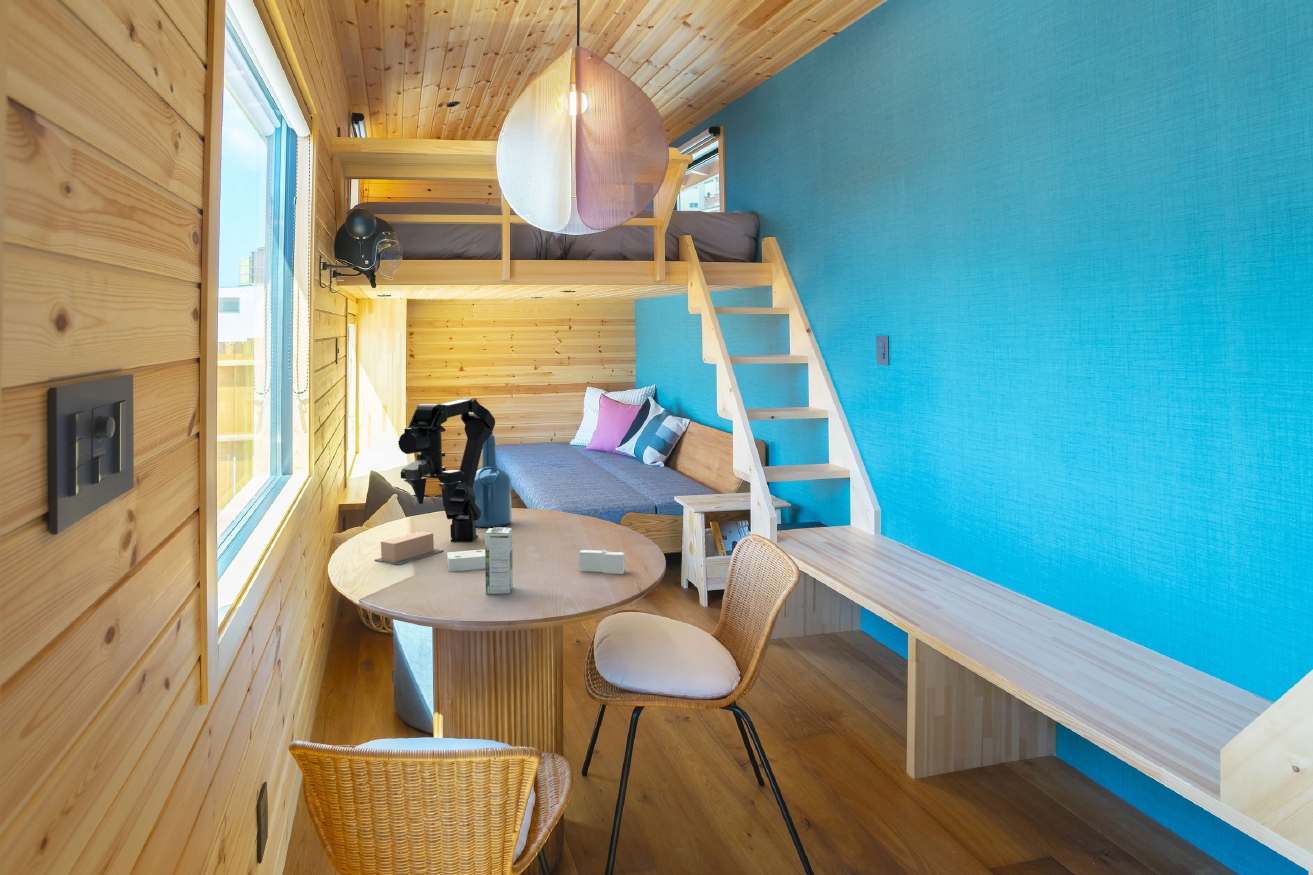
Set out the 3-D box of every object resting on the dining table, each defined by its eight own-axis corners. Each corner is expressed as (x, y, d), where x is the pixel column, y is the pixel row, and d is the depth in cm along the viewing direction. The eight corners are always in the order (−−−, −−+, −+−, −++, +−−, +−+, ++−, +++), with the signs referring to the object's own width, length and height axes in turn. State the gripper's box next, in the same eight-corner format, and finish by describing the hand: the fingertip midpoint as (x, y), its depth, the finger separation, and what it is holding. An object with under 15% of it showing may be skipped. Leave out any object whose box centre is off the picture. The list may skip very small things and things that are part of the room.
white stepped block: (567, 572, 208) (566, 550, 207) (601, 563, 216) (601, 542, 215) (604, 584, 197) (604, 561, 197) (639, 575, 205) (639, 552, 204)
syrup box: (488, 587, 193) (486, 527, 192) (513, 586, 194) (512, 526, 192) (485, 594, 188) (483, 532, 186) (511, 593, 188) (509, 532, 187)
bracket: (497, 561, 218) (496, 533, 217) (500, 568, 211) (500, 539, 210) (447, 565, 214) (446, 537, 213) (449, 572, 207) (448, 543, 206)
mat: (419, 547, 232) (419, 546, 232) (443, 551, 227) (443, 550, 227) (374, 560, 218) (374, 559, 218) (398, 565, 213) (398, 563, 213)
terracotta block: (420, 531, 229) (380, 541, 217) (433, 533, 226) (394, 543, 214) (420, 548, 229) (381, 560, 217) (433, 550, 227) (394, 562, 215)
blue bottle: (472, 520, 268) (469, 429, 264) (513, 519, 269) (510, 428, 266) (467, 529, 254) (464, 433, 251) (510, 528, 256) (507, 433, 252)
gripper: (384, 450, 222) (386, 507, 224) (434, 455, 213) (436, 513, 215) (414, 446, 232) (416, 500, 233) (464, 450, 223) (466, 506, 224)
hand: (433, 505), depth 226 cm, fingers open, 9 cm apart
